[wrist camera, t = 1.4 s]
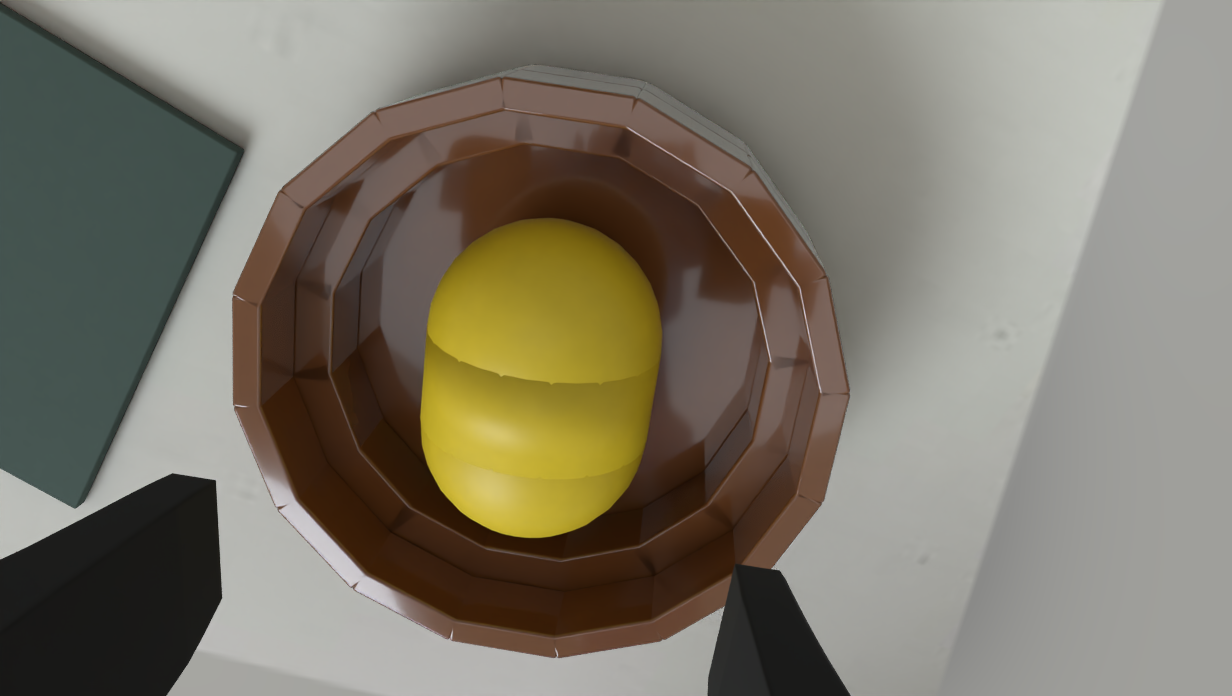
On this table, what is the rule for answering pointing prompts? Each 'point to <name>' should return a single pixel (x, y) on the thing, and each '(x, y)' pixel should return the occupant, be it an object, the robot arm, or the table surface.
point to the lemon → (539, 377)
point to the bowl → (396, 337)
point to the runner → (87, 247)
